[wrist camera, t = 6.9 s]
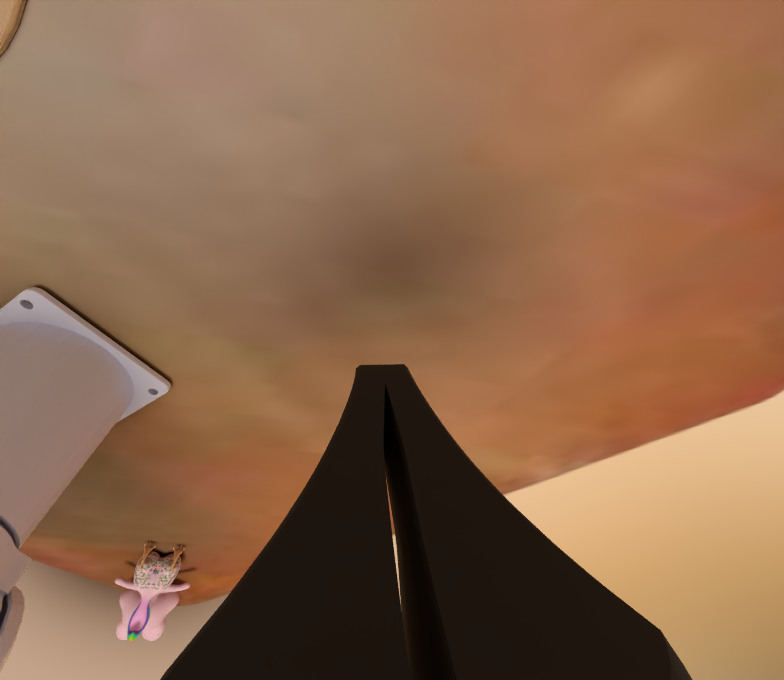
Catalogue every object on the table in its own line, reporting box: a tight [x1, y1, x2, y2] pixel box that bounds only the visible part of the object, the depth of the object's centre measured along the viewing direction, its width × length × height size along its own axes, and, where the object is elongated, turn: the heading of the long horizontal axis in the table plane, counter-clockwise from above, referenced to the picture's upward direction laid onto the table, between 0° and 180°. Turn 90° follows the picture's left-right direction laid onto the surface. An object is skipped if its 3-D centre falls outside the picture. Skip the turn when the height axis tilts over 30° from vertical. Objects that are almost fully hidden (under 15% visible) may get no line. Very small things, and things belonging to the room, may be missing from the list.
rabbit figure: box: [115, 542, 190, 641], centre depth 32 cm, size 6×6×15 cm
